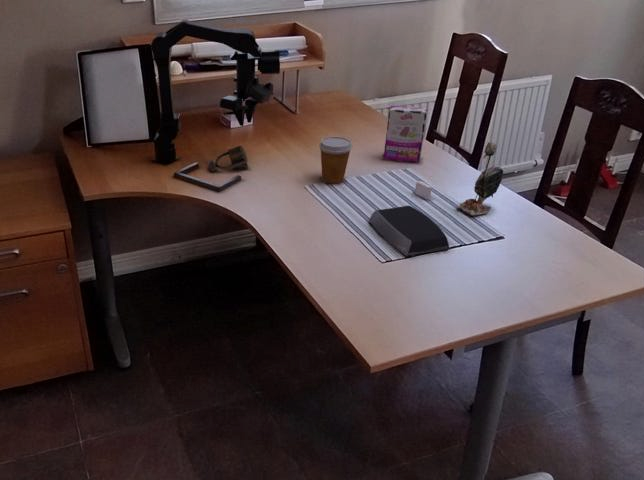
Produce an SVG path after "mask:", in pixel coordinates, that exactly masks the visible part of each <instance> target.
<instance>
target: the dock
mask: <svg viewBox="0 0 644 480" xmlns="http://www.w3.org/2000/svg"><path fill="white" fill-rule="evenodd" d="M199 168H200V163H199V162H196V161H195V162H193V163H192V164H189V165H187V166H185V167H183V168H181V169H178V170H177V171H174V172H173V178H175V179H178V180H181V181H185V182H188V183H190V184H193V185H196V186H200V187H203V188H206V189H209V190H212V191H215V192H218V193H220V192H223V191H224V190H226V189H228V188H229V187H231V186H233V185H236V184H237V183H239V182H241V181H242V176H241V175H239V174H238V175H235V176H233V177H232V178H230V179H227V180H226V181H224V182H222V183H220V184H216V183H214V182H210V181H207V180H204V179H201V178H197V177H194V176H192V175H188V173H190V172H192V171H194V170H196V169H199Z"/></svg>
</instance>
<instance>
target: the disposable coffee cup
mask: <svg viewBox="0 0 644 480" xmlns="http://www.w3.org/2000/svg"><path fill="white" fill-rule="evenodd" d="M318 148H319V149H320V163H321V179H322V181H323V182H324V183H327V184H332V185H333V184H334V185H335V184H340V183H342V182H344V180H345V175H346V170H347V166H348V161H349V157H350V153H351V150H352V148H353V144H352V141H351V140H350V139H349V138H347V137H344V136H326V137H323V138H322V139H321V140H320V143H319V144H318Z"/></svg>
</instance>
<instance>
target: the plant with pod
mask: <svg viewBox="0 0 644 480" xmlns="http://www.w3.org/2000/svg"><path fill="white" fill-rule="evenodd" d="M497 146H498V145H497V144H496V143H495V142H493V141H490V142H487V144H486V146H485V148H484V155H483V159H485V158H486V157H488V159H487V163H486V166H485V169H484V170H483V171H482V172H481V173H480V174H479V176H478V177H477V178H476V180H475V182H474V186H473V188H474V189H473V191H474V193H475V194H476V195H475V198H468V199H466V200H465V201H463V202H461V203H459V204H458V205H457V206H456V209H461V210H463V211H464V213H467V215H469V216H480V215H483V214H485V215H486V214H487V213H488V212H489V211H490V210H491V208H492V207H491V206H487V205H484V204H483V203H484V201H486V200H487V199H489V198H490V197H491V198H494V194H496V193H497V192H498V189H499V188H500V185H501V183H502V180H503V175H504V169H503V168H502V167H500V166H497V165H492V166H490V167H489V164H490V161H491V159H492V158H491V157H492V156H494V155H495V154H496V152H497V151H496V150H497Z"/></svg>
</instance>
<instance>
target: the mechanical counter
mask: <svg viewBox="0 0 644 480" xmlns="http://www.w3.org/2000/svg"><path fill="white" fill-rule="evenodd" d="M226 156H229V159H230V163H231V165H229V166H222V165H221V166H220V165H219V164H218V163H219V161H220V160H221V158H223V157H226ZM248 161H249V160H248V157H247V153H246V151H245V148H244V146H242V145H241V144H240V145H238V146H235V147H232V148H229V149H227V151H225V152H223V153H221V154H220V155H218V156H217V157H216V159H215V161H213V159H210V160H209V162H208V164H207V165H208V166H207V167H208V169H209V170H210V172H211V171H212V172H216V171H217V168H218V169H219V170H222V171H228V170H231V169H234V170H235V169H239V168H241V167H244V166H245V168H246V169H247V170H249V163H248Z"/></svg>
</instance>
